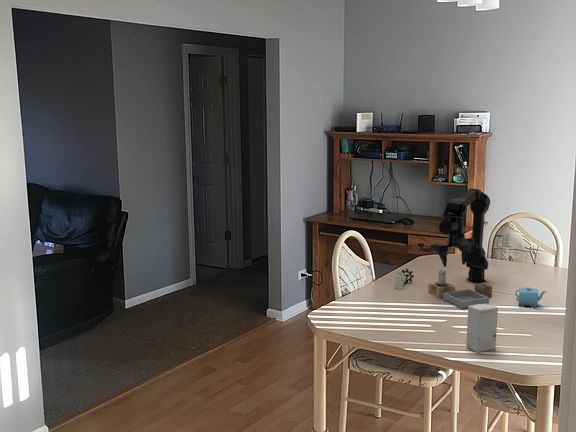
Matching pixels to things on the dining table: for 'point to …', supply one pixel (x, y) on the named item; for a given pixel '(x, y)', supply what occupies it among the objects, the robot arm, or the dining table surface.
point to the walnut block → (484, 289)
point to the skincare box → (481, 327)
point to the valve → (402, 279)
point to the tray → (465, 298)
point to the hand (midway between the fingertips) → (454, 265)
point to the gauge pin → (441, 278)
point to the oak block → (440, 289)
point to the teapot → (528, 296)
